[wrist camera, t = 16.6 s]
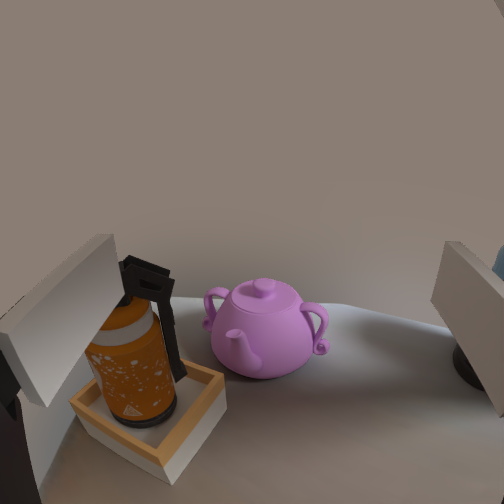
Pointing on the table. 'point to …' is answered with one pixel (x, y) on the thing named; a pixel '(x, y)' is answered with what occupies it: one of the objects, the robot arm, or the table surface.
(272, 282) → the teapot
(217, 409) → the orange-rimmed open box
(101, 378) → the canister
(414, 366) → the table surface
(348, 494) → the table surface
